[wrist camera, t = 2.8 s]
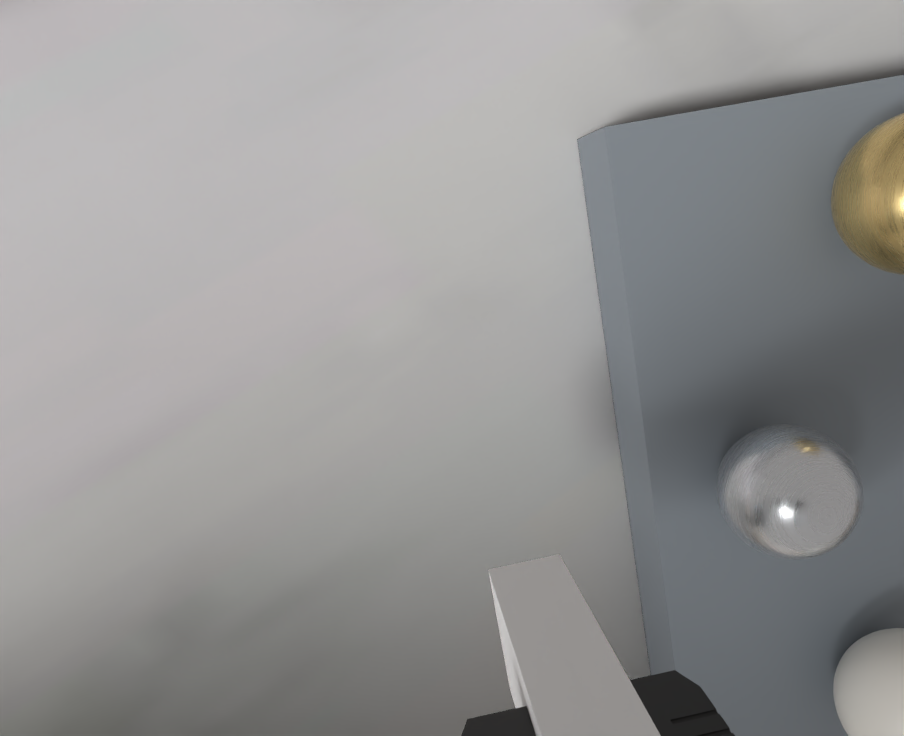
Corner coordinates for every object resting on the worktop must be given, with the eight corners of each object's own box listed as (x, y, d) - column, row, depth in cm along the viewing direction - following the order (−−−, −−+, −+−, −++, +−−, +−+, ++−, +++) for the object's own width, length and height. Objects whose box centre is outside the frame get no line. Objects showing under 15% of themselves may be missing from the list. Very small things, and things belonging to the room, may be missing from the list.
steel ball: (700, 538, 21) (765, 598, 18) (687, 423, 20) (752, 461, 17) (814, 513, 21) (900, 567, 18) (805, 399, 20) (892, 432, 17)
